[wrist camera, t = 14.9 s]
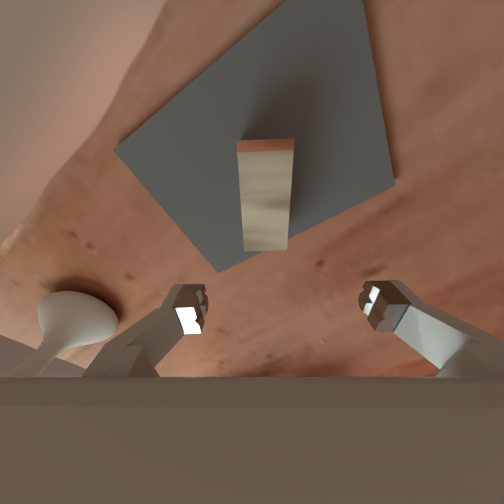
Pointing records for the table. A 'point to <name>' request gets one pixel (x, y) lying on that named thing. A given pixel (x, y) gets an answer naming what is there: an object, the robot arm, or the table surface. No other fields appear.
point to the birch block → (265, 192)
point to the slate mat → (270, 126)
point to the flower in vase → (68, 327)
